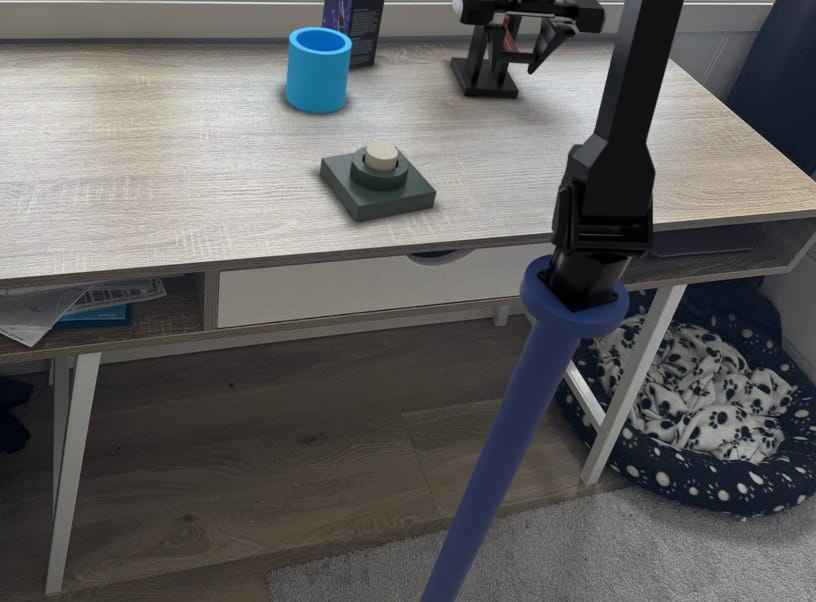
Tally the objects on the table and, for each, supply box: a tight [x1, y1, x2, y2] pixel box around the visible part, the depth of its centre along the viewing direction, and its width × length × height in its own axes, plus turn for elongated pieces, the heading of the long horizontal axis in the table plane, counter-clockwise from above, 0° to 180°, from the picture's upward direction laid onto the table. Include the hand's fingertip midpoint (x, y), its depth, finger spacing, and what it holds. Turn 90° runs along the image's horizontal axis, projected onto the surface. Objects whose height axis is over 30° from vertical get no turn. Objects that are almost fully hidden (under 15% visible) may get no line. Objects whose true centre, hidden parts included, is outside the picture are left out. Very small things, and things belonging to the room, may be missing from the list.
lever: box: [498, 15, 536, 65], centre depth 101 cm, size 12×5×2 cm, turn 6°
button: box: [365, 141, 398, 172], centre depth 83 cm, size 4×4×2 cm
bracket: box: [449, 15, 523, 99], centre depth 106 cm, size 10×8×11 cm
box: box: [320, 0, 385, 69], centre depth 108 cm, size 8×6×11 cm
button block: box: [319, 145, 437, 223], centre depth 85 cm, size 10×10×4 cm
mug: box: [285, 26, 352, 114], centre depth 99 cm, size 12×8×8 cm
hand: (510, 72), depth 99 cm, fingers closed on lever, 5 cm apart
